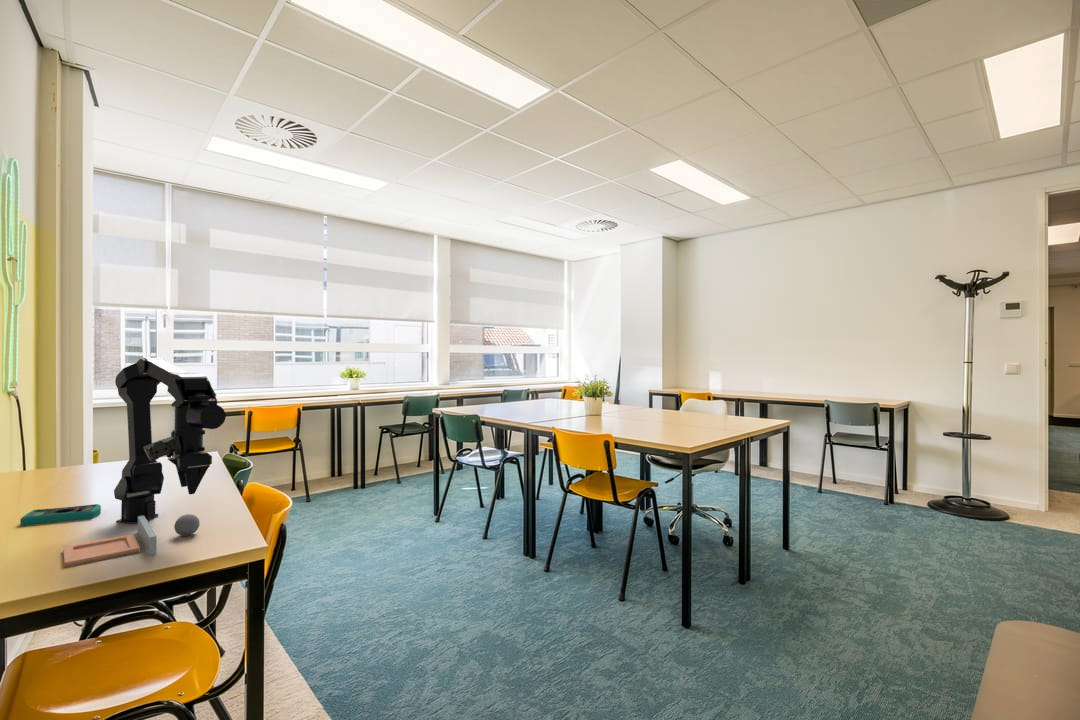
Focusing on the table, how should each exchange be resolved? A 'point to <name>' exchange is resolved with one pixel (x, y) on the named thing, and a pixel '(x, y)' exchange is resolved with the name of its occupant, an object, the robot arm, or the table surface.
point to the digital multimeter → (60, 514)
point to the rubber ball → (187, 524)
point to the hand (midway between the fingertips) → (187, 490)
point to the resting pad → (100, 550)
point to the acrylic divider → (147, 535)
